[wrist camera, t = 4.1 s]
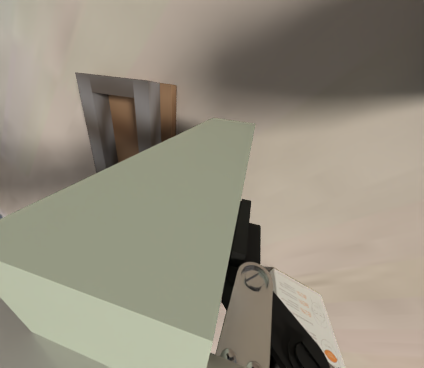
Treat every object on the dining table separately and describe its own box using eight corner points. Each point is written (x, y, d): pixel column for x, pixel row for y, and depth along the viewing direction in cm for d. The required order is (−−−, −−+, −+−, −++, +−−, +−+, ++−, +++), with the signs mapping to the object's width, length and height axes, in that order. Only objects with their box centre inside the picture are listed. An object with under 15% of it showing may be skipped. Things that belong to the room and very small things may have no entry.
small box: (252, 284, 27) (248, 379, 18) (273, 265, 24) (282, 365, 15) (295, 310, 27) (315, 417, 18) (322, 294, 24) (361, 411, 15)
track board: (93, 76, 19) (64, 71, 16) (176, 85, 17) (160, 82, 15) (119, 227, 29) (104, 241, 26) (174, 243, 27) (164, 259, 24)
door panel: (212, 117, 12) (-53, 240, 2) (256, 123, 12) (219, 343, 1) (202, 223, 17) (112, 421, 7) (232, 231, 16) (186, 459, 6)
